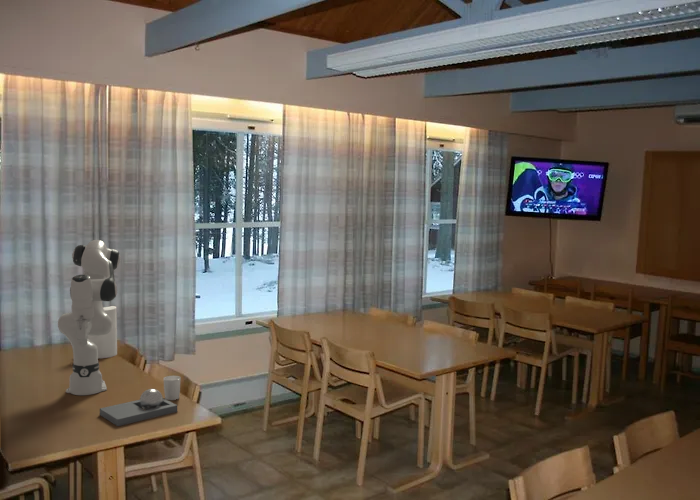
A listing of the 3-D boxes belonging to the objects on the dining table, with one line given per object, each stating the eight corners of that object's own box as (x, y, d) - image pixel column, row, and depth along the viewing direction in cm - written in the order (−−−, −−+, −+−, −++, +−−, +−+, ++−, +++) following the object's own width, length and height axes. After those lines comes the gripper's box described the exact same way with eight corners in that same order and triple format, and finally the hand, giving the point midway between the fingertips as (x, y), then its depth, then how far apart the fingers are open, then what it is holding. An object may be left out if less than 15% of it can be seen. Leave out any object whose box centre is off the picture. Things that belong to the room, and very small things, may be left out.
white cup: (160, 397, 322) (160, 377, 321) (176, 394, 327) (176, 374, 326) (168, 401, 316) (167, 381, 315) (183, 398, 321) (183, 378, 320)
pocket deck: (117, 426, 284) (117, 419, 284) (99, 415, 297) (99, 408, 297) (177, 411, 303) (177, 405, 303) (158, 401, 316) (157, 395, 316)
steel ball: (144, 385, 308) (152, 403, 311) (132, 398, 299) (140, 416, 302) (162, 383, 304) (170, 401, 308) (150, 396, 296) (158, 415, 299)
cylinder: (123, 353, 401) (122, 307, 398) (98, 359, 386) (98, 311, 383) (104, 349, 410) (103, 304, 407) (79, 355, 395) (78, 308, 392)
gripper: (87, 318, 277) (89, 351, 280) (93, 307, 297) (95, 337, 299) (71, 319, 276) (73, 352, 278) (78, 308, 296) (80, 338, 298)
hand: (85, 344), depth 289 cm, fingers closed
